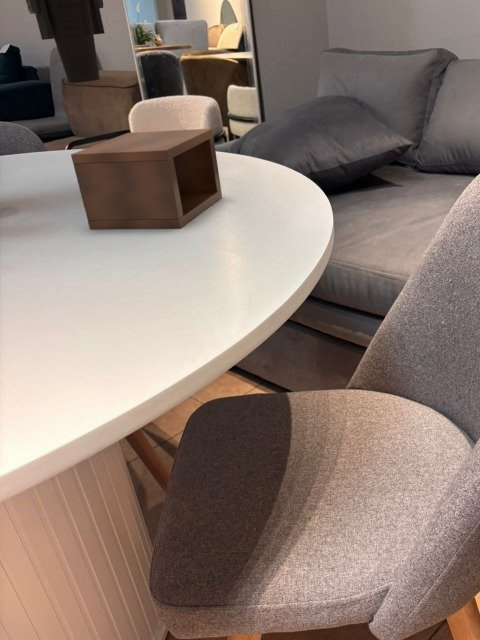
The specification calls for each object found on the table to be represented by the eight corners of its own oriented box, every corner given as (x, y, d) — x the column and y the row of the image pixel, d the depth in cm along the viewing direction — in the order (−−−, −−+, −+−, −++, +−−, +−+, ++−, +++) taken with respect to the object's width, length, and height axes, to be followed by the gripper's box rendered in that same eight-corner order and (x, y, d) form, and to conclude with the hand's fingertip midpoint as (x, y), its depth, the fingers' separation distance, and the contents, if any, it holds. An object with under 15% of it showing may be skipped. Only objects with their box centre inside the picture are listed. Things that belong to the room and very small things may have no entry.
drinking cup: (106, 77, 105) (74, -74, 95) (110, 79, 99) (76, -82, 88) (58, 82, 103) (20, -70, 93) (60, 85, 97) (18, -78, 86)
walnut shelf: (89, 228, 90) (70, 154, 85) (141, 199, 103) (127, 132, 98) (180, 228, 86) (166, 150, 81) (222, 197, 99) (212, 128, 94)
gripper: (-43, -171, 78) (17, 42, 90) (109, -160, 89) (144, 29, 101) (-60, -156, 83) (-2, 44, 95) (86, -147, 94) (122, 31, 106)
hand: (73, 36), depth 98 cm, fingers closed on drinking cup, 8 cm apart
